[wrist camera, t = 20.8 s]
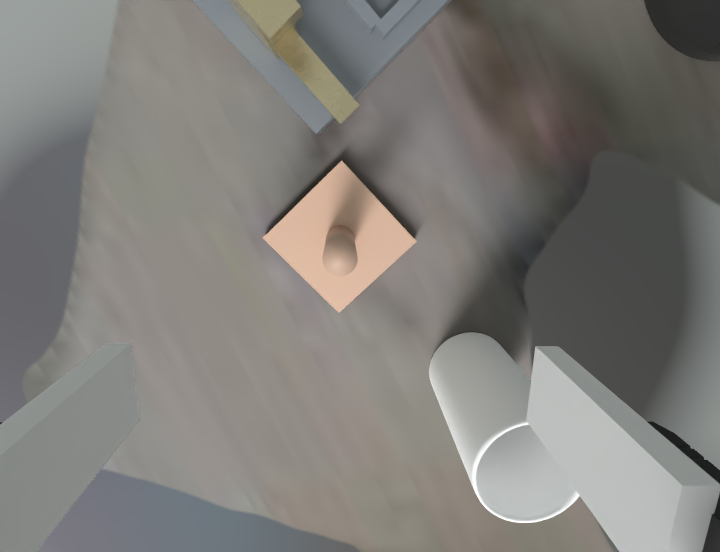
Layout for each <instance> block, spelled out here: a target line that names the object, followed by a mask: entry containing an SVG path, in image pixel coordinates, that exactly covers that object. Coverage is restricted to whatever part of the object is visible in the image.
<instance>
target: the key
mask: <svg viewBox="0 0 720 552" xmlns="http://www.w3.org/2000/svg"><path fill="white" fill-rule="evenodd" d="M229 2H230V3H231V5H232V6H233V7H234V9H235V10H236V12H237V13H238V15H239V16H240V17H241V19H242V20H243V21H244V22H245V23H246V24H247V25H248V27H249V28H250V29H251V30H252V31H253V32H254V33H255V34H256V36H257V37H258V38H259V39H260V40H261V41H262V42H263V43H264V45H265V46H266V47H267V48H268V49H269V50H270V51H271V52H272V54H273V55H274V56H275V57H276V58H277V59H279V58H280V57H281V58H282V59H283V61H284V62H285V63H286V64H287V65H288V66H289V67H290V68H291V70H292V71H293V72H294V73H295V74H296V75H297V76H298V77H299V79H300V80H301V81H302V82H303V83H304V84H305V85H306V86H307V88H308V89H309V90H310V91H311V92H312V93H313V94H314V96H315V97H316V98H317V99H318V100H319V101H320V102H321V103H322V105H323V106H324V107H325V108H326V109H327V110H328V111H329V112H330V114H331V115H332V116H333V117H334V118H335V119H336V120H337V121H338V123H339V124H340V125H341V124H342V123H343V122H344V121H345V120H346V119H347V118H348V117H349V116H350V115H351V114H352V113H353V112H354V111H355V110H356V109H357V108H358V107H359V106H360V105H359V104H358V103H357V102H356V100H355V99H354V98H353V97H352V96H351V95H350V93H349V92H348V91H347V90H346V89H345V88H344V86H343V85H342V84H341V83H340V82H339V81H338V80H337V78H336V77H335V76H334V75H333V74H332V73H331V71H330V70H329V69H328V68H327V67H326V66H325V64H324V63H323V62H322V61H321V60H320V59H319V58H318V56H317V55H316V54H315V53H314V52H313V51H312V49H311V48H310V47H309V46H308V45H307V44H306V43H305V41H304V40H303V39H302V38H301V37H300V36H299V34H298V31H297V28H296V25H295V23H296V22H297V21H298V20H299V19H300V18H301V17H302V16H303V12H302V9H301V6H300V5H299V3H298V2H297V1H296V0H229Z"/></svg>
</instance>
